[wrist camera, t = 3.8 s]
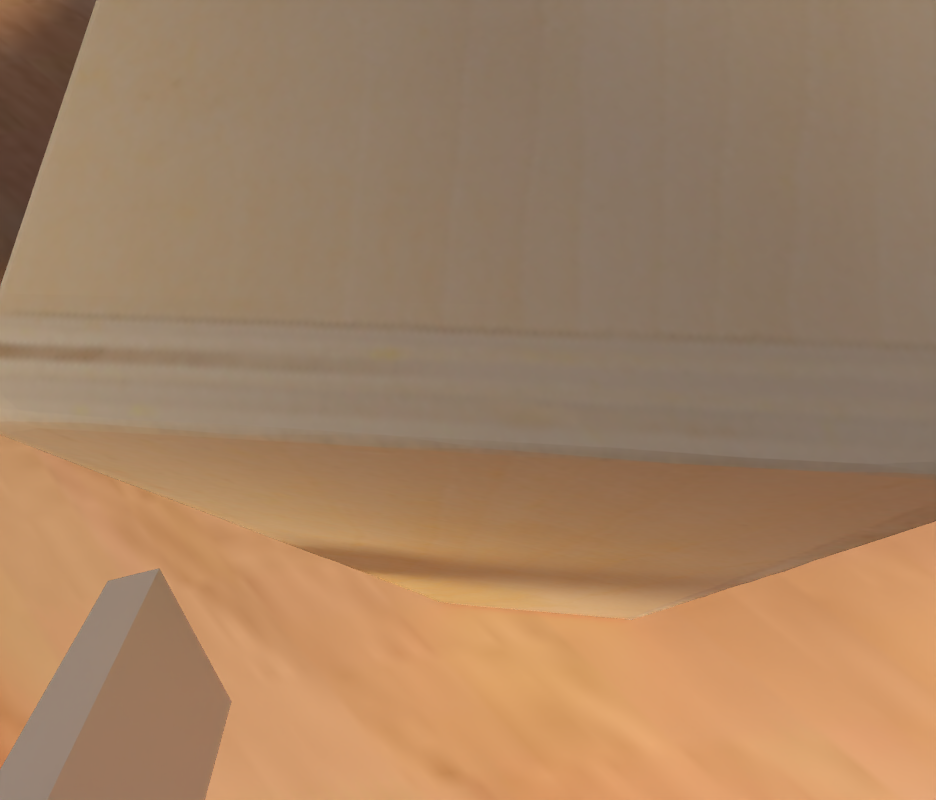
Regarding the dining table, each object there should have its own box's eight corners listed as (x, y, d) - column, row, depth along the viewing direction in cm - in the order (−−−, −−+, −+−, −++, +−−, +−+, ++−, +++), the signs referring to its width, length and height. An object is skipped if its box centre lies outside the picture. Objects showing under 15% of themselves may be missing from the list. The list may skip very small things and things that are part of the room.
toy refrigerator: (439, 381, 27) (130, -347, 7) (639, 391, 26) (938, -417, 6) (414, 600, 24) (-165, 443, 5) (634, 620, 23) (1111, 534, 4)
